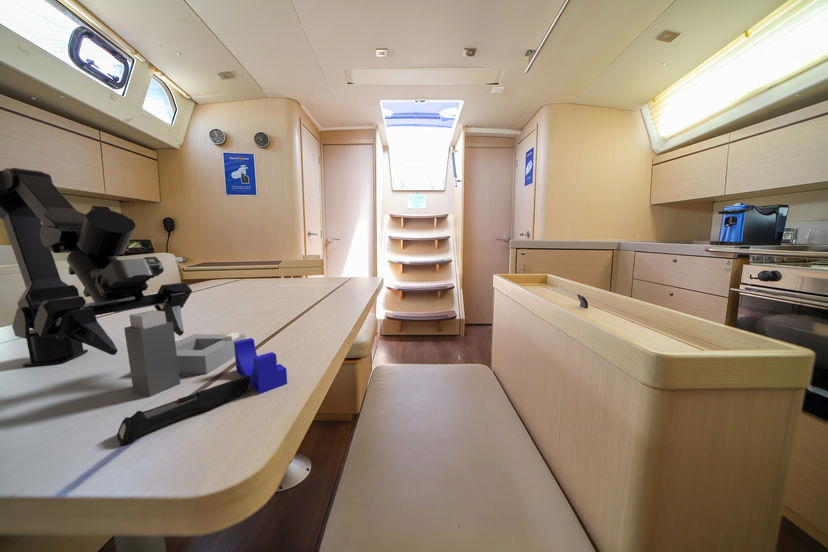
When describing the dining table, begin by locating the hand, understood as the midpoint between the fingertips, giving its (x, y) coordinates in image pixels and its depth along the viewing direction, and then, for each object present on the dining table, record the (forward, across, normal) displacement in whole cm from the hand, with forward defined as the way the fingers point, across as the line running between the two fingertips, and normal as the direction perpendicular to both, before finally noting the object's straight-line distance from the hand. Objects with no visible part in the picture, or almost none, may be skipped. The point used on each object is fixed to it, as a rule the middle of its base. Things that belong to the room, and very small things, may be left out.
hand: (151, 342), depth 48 cm
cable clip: (+16, +9, -4) cm, 18 cm away
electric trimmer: (+15, -3, -3) cm, 16 cm away
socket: (+2, +10, +9) cm, 14 cm away
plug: (+6, 0, +6) cm, 8 cm away
